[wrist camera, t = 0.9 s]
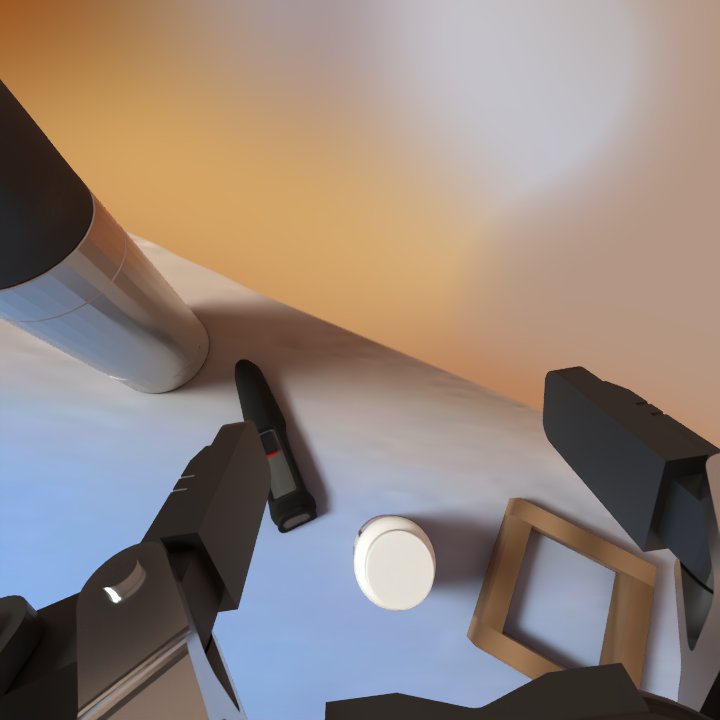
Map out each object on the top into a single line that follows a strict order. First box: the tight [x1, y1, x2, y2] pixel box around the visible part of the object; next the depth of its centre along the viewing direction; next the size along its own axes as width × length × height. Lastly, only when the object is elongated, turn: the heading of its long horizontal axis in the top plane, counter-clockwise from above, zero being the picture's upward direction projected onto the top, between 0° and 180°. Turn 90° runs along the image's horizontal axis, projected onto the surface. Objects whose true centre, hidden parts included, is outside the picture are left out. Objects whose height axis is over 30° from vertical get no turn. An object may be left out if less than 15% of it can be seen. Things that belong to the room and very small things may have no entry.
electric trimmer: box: [235, 359, 317, 533], centre depth 31 cm, size 4×16×3 cm, turn 23°
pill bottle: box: [354, 515, 436, 611], centre depth 24 cm, size 5×5×10 cm
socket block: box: [467, 498, 657, 690], centre depth 27 cm, size 11×11×2 cm
